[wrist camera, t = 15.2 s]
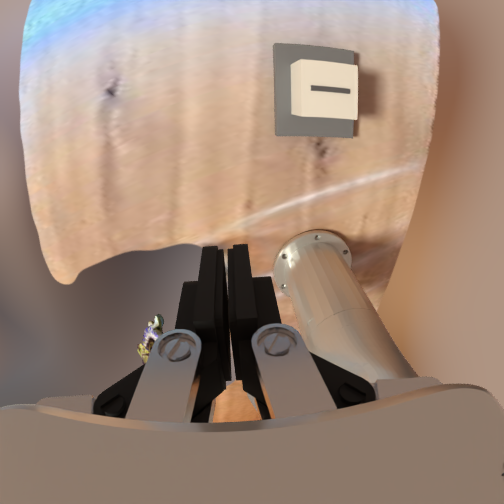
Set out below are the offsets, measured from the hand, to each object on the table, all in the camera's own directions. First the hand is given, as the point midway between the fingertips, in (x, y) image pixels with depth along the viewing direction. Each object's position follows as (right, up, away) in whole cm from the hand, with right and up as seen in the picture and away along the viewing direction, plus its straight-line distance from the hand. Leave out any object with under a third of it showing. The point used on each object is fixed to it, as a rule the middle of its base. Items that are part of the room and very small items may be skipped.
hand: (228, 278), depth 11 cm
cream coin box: (+9, +20, +19) cm, 29 cm away
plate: (+9, +21, +20) cm, 30 cm away
